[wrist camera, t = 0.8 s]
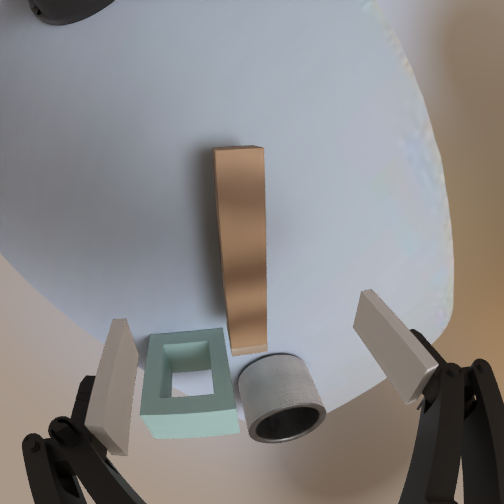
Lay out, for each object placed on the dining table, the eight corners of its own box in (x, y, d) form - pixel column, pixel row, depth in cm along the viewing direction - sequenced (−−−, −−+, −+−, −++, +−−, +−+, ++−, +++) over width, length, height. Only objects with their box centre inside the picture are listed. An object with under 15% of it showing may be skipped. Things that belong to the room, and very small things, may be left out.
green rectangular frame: (150, 334, 38) (139, 415, 25) (222, 327, 40) (236, 408, 27) (159, 362, 41) (154, 438, 28) (226, 356, 42) (240, 432, 29)
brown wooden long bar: (211, 147, 26) (214, 150, 21) (253, 145, 27) (264, 148, 22) (227, 328, 35) (232, 356, 31) (258, 324, 36) (267, 351, 31)
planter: (242, 401, 48) (253, 449, 38) (231, 360, 43) (242, 416, 33) (305, 387, 50) (324, 431, 40) (306, 343, 44) (330, 393, 34)
